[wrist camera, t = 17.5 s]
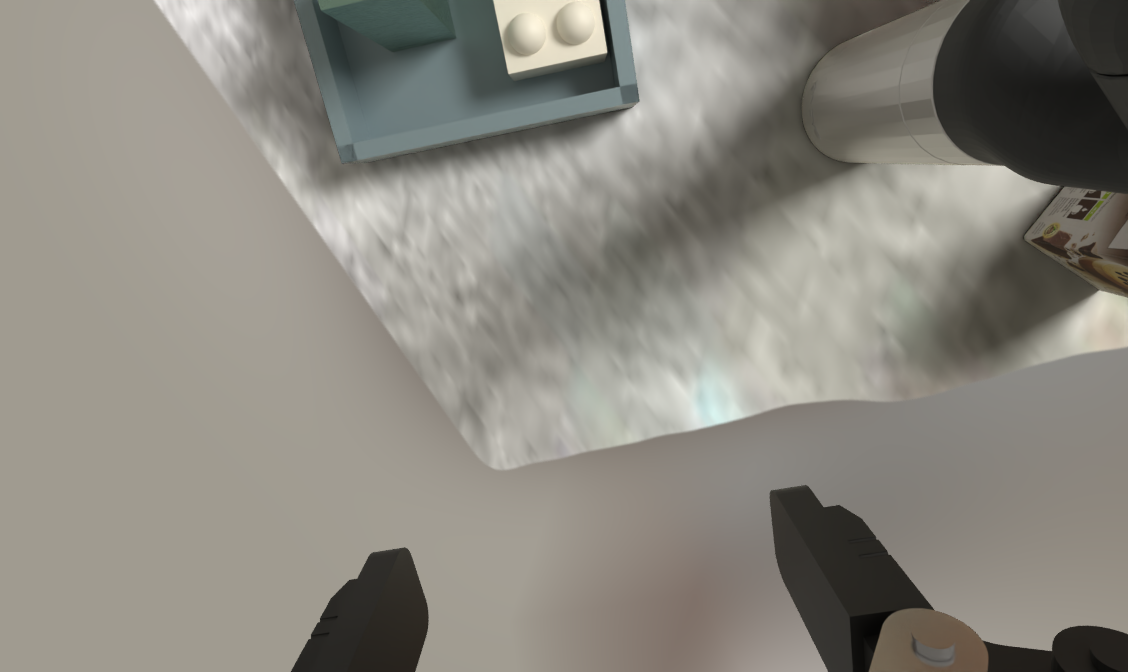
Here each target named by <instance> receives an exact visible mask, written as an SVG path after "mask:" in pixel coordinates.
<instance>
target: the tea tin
mask: <svg viewBox="0 0 1128 672" xmlns="http://www.w3.org/2000/svg"><path fill="white" fill-rule="evenodd" d="M318 3H319V6H320V9H321V11H322V12H324V13H326V14H328V15H329V16H331V17H333V18H334V19H336V20H338V21H340V22H341V23H343V24H345V25H346V26H348V27H350V28H352V29H353V30H355V31H357V32H359V33H360V34H362V35H364V36H365V37H367V38H369V39H371V40H372V41H374V42H376V43H377V44H379V45H381V46H383V47H384V48H386V49H388V50H389V51H391V52H397V51H401V50H406V49H410V48H415V47H419V46H424V45H428V44H433V43H437V42H442V41H446V40H450V39H455V38H457V37H456V33H455V28H454V24H453V20H452V15H451V11H450V7H449V2H448V0H318Z"/></svg>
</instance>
